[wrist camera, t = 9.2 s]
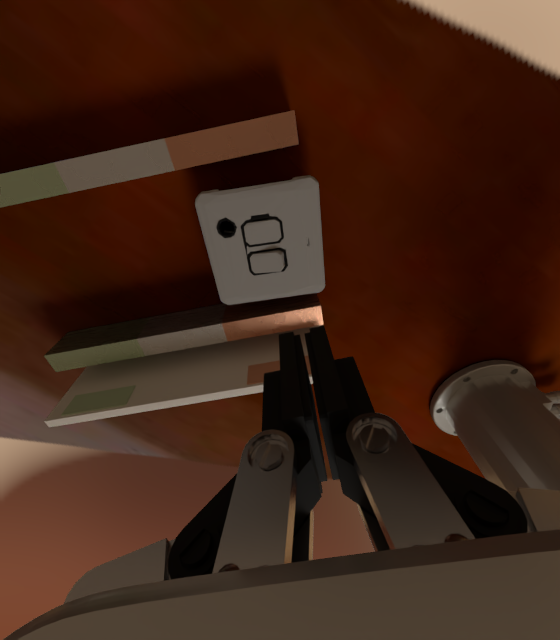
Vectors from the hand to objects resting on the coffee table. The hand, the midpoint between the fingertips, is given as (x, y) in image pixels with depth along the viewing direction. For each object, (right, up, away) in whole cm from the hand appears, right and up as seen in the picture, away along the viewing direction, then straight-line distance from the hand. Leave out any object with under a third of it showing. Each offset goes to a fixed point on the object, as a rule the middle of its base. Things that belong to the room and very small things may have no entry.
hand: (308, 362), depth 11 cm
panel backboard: (-10, -1, +22) cm, 24 cm away
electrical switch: (-7, +8, +15) cm, 19 cm away
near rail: (-13, +14, +13) cm, 23 cm away
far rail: (-10, +2, +20) cm, 23 cm away
